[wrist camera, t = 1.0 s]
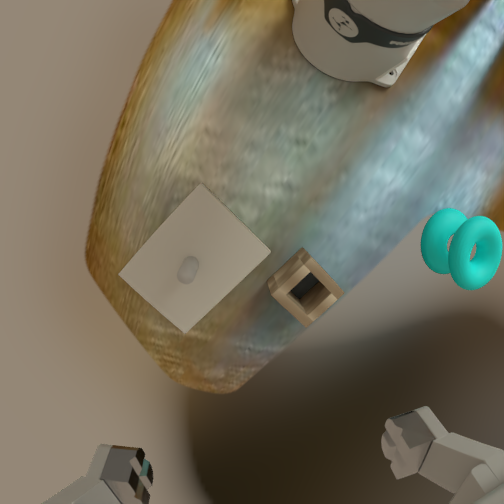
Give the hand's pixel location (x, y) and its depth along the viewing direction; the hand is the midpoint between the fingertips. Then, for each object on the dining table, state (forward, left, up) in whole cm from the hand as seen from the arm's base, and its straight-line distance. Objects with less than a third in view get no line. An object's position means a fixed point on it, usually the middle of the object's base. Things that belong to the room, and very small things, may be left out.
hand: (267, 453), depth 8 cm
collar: (-2, +10, -32) cm, 34 cm away
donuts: (-22, +22, -33) cm, 45 cm away
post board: (+6, -2, -32) cm, 33 cm away
